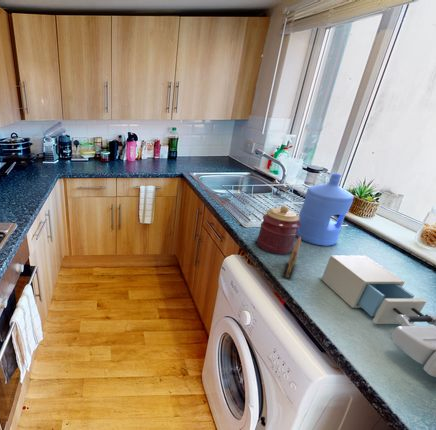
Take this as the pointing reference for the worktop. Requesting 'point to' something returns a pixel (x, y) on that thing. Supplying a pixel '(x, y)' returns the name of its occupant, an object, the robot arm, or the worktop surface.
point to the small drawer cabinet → (355, 276)
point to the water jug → (324, 212)
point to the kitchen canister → (278, 230)
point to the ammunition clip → (292, 259)
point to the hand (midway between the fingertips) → (412, 316)
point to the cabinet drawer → (391, 304)
